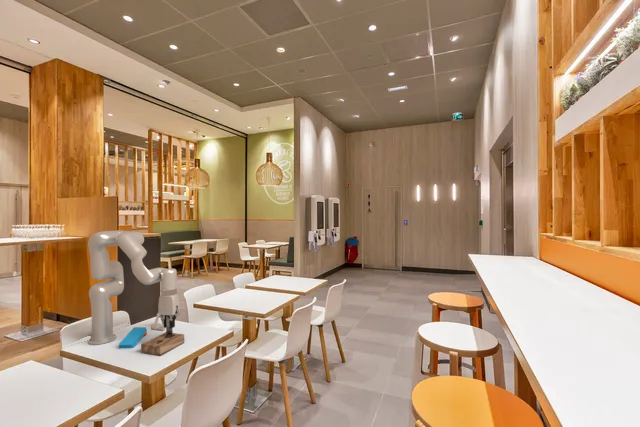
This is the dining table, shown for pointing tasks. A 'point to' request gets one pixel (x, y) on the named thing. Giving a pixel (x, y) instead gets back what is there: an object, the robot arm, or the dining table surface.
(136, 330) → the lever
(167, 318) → the pin
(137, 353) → the dining table surface
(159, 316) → the portable electronic device stand
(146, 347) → the hole block
